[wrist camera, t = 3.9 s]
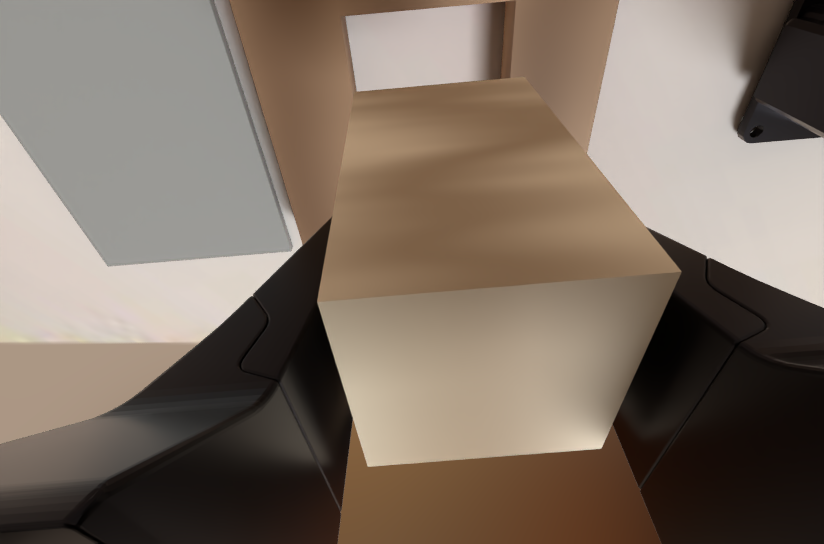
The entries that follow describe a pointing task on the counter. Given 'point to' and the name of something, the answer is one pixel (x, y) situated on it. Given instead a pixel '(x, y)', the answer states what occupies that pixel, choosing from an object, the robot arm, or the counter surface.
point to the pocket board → (335, 85)
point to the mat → (139, 127)
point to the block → (482, 278)
